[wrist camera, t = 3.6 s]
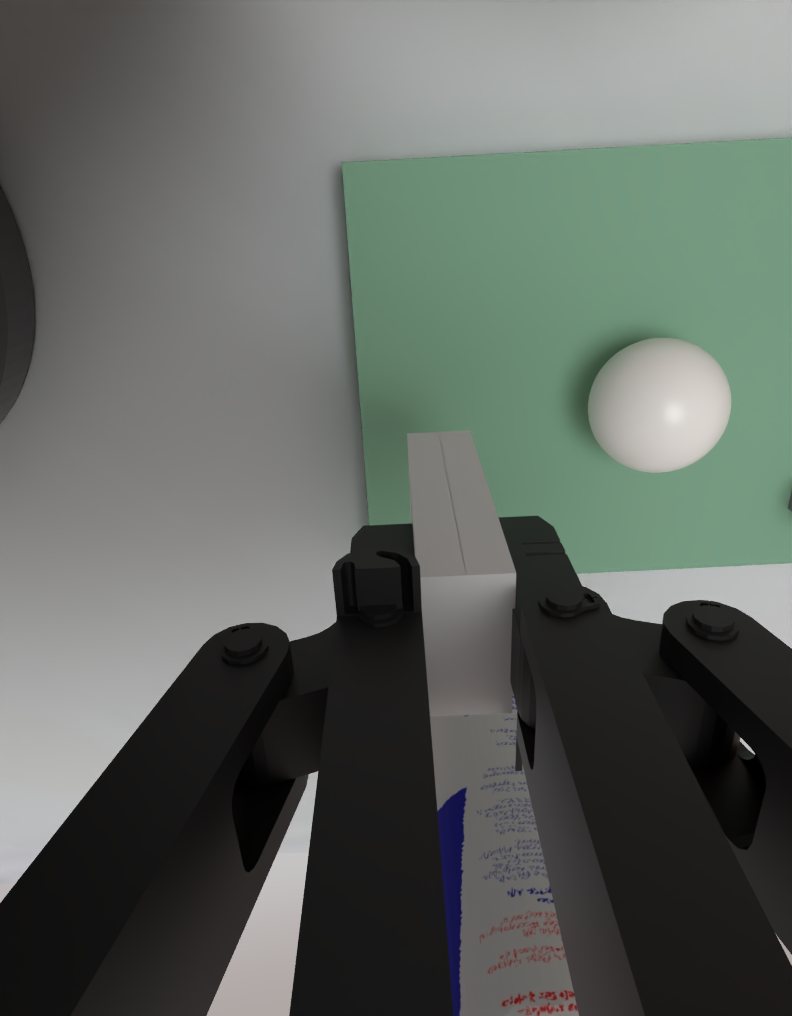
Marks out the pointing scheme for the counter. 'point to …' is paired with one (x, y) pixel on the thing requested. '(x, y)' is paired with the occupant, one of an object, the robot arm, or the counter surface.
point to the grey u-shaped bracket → (790, 502)
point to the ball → (659, 405)
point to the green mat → (580, 334)
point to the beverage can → (495, 875)
